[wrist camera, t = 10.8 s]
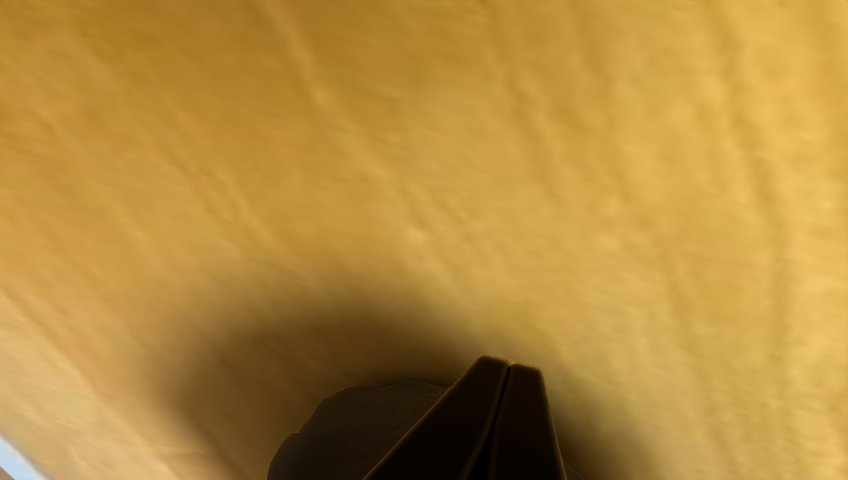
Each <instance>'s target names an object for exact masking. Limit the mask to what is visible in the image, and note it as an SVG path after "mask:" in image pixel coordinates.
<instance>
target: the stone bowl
mask: <svg viewBox="0 0 848 480" xmlns="http://www.w3.org/2000/svg"><path fill="white" fill-rule="evenodd" d="M449 388H450V387H441V386H436V385H433V384H429V383H425V382H421V381H415V380H406V381H402V382H399V383H396V384H393V385H390V386H386V387H376V386H360V387H353V388H347V389H345V390H343V391H340V392H338V393H336V394H335V395H333V396H332V397H329V398H327V399H325V400H323V401H322V402H321V403H320V405H319V406H318V408H317V409H316V411H315V412H314V414H313V415H312V416H311V418H310V419H309V420H308V421H307V422H306V424H305V425H304V426H303V428H302V429H301V431H300V432H299V433H295V434H292V435H291V436H290V437H289V438H288V439H286V440H285V441H284V442H283V444H282V445H281V446H280V448H279V450H278V452H277V453H276V455H275V457H274V459H273V460H272V462H271V465H270V468H269V473H268V477H267V480H363V479H364V477H365V476H366V475H367V474H368V473H369V472H370V471H371V470H372V469H373V468H374V467H375V466H376V465H377V464H378V463H379V462H380V461H381V460H382V459H383V458H384V456H385V455H386V454H387V453H388V452H389V451H390V450H391V449H392V448H393V447H394V446H395V445H396V444H397V443H398V442H399V441H400V440H401V439H402V438H403V436H404V435H405V434H406V433H407V432H408V431H409V430H410V429H411V428H412V427H413V426H414V425H415V424H416V423H417V422H418V421H419V420H420V419H421V418H422V417H423V415H424V414H425V413H426V412H427V411H428V410H429V409H430V408H431V407H432V406H433V405H434V404H435V403H436V402H437V401H438V400H439V399H440V398H441V397H442V395H443V394H444V393H445V392H446V391H447V390H448V389H449ZM563 465H564V470H565V474H566V479H567V480H585V478H584V477H583V476H582V475H581V474H580V473H579V472H578V471H577V470H576V469H574V468H573V467H571V466H569V465H568V464H567V463H565V462H564V461H563Z"/></svg>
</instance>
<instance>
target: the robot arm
mask: <svg viewBox="0 0 848 480" xmlns="http://www.w3.org/2000/svg"><path fill="white" fill-rule="evenodd" d="M363 480H567V479H566V474H565V470H564V465H563V461H562V457H561V452H560V448H559V443H558V439H557V435H556V430H555V426H554V421H553V417H552V413H551V408H550V404H549V399H548V395H547V391H546V386H545V382H544V378H543V374H542V372H541V370H540V369H539V368H537V367H533V366H529V365H525V364H521V363H513V364H512V365H511V367H510V363H509V362H508V361H507V360H505V359H501V358H497V357H493V356H489V355H482V356H480V357H479V358H478V359H477V360H476V361H475V362H474V363H473V364H472V365H471V366H470V367H469V368H468V369H467V370H466V371H465V372H464V373H463V374H462V376H461V377H460V378H459V379H458V380H457V381H456V382H455V383H454V384H453V385H452V386H451V387H450V388H449V389H448V390H447V391H446V392H445V393H444V394H443V395H442V397H441V398H440V399H439V400H438V401H437V402H436V403H435V404H434V405H433V406H432V407H431V408H430V409H429V410H428V411H427V412H426V413H425V414H424V415H423V417H422V418H421V419H420V420H419V421H418V422H417V423H416V424H415V425H414V426H413V427H412V428H411V429H410V430H409V431H408V432H407V433H406V434H405V435H404V436H403V438H402V439H401V440H400V441H399V442H398V443H397V444H396V445H395V446H394V447H393V448H392V449H391V450H390V451H389V452H388V453H387V454H386V455H385V456H384V458H383V459H382V460H381V461H380V462H379V463H378V464H377V465H376V466H375V467H374V468H373V469H372V470H371V471H370V472H369V473H368V474H367V475H366V476H365V477H364V479H363Z"/></svg>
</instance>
